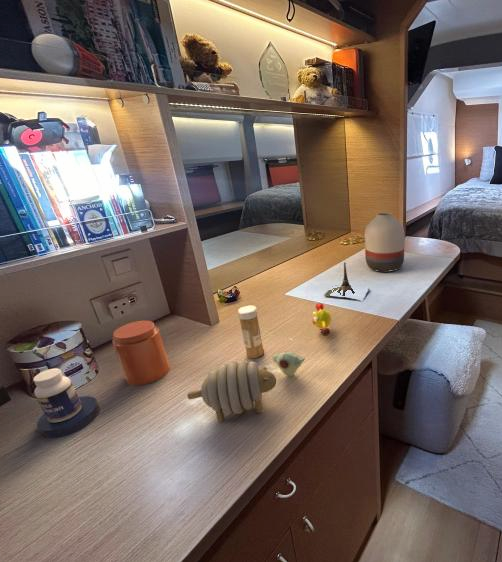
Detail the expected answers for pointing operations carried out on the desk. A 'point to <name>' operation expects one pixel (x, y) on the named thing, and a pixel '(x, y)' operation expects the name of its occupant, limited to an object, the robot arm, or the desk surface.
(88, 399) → the jar lid
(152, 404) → the desk surface
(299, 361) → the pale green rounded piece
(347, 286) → the eiffel tower figurine
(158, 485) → the desk surface
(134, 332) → the jar
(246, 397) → the toy sheep
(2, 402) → the robot arm
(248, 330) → the sprinkles bottle
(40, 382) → the pill bottle
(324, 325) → the toy figure
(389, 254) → the vase
